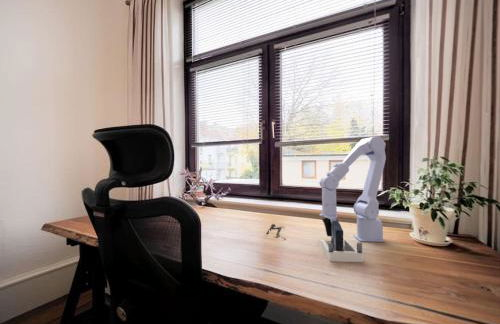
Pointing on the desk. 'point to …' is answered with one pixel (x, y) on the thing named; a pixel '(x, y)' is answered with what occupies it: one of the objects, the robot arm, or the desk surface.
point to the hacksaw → (277, 231)
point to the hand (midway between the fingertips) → (329, 235)
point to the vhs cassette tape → (337, 236)
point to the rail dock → (343, 252)
